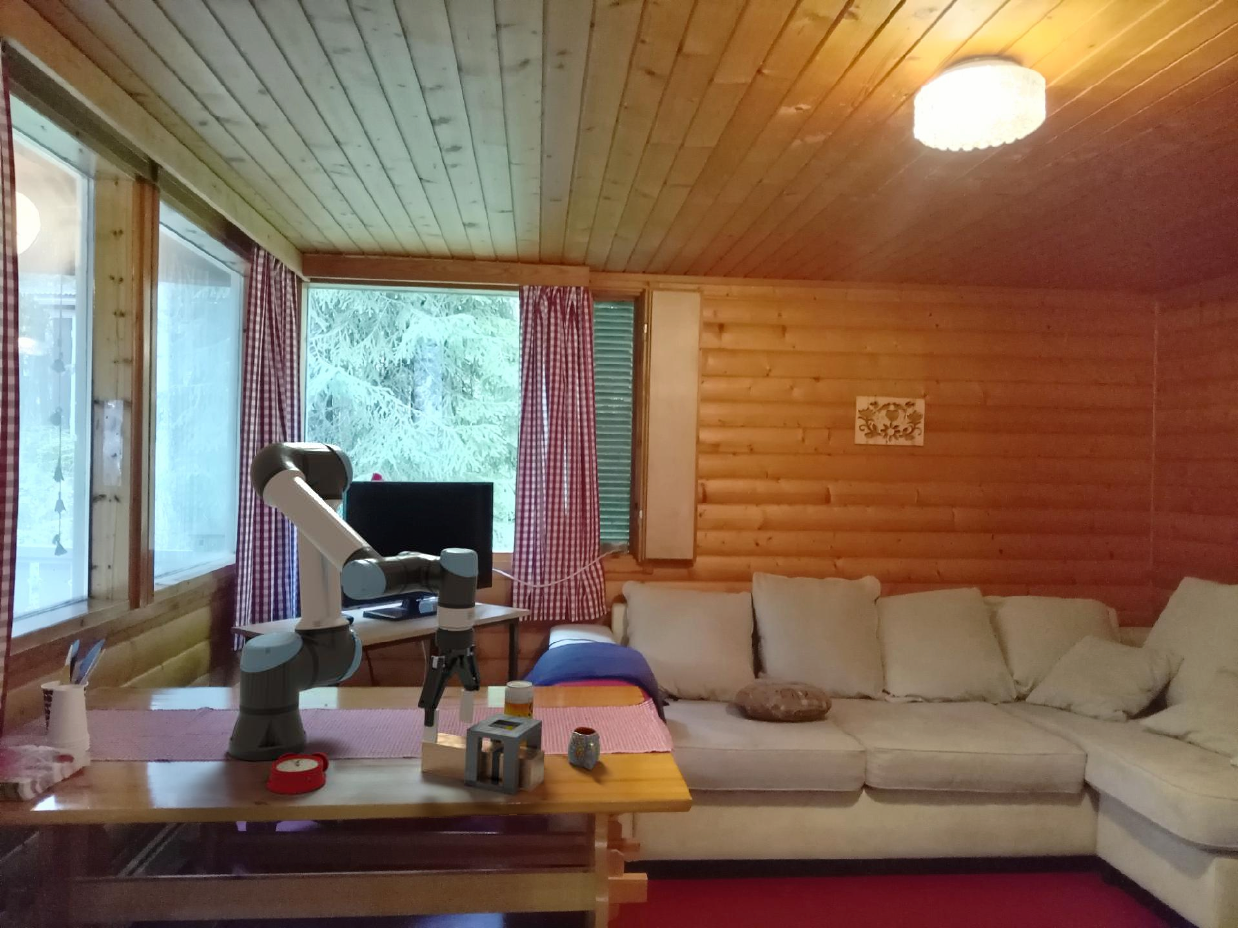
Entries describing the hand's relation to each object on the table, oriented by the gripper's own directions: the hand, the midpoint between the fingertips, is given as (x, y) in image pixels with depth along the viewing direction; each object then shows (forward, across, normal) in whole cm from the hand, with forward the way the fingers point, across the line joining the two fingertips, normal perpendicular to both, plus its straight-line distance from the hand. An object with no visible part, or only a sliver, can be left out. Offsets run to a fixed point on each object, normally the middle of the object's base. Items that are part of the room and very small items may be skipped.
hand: (448, 731), depth 171 cm
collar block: (+7, 0, -13) cm, 15 cm away
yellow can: (+8, +14, -9) cm, 18 cm away
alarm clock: (+9, -17, +22) cm, 29 cm away
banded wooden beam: (+7, 0, -8) cm, 11 cm away
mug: (+7, +14, -24) cm, 29 cm away
